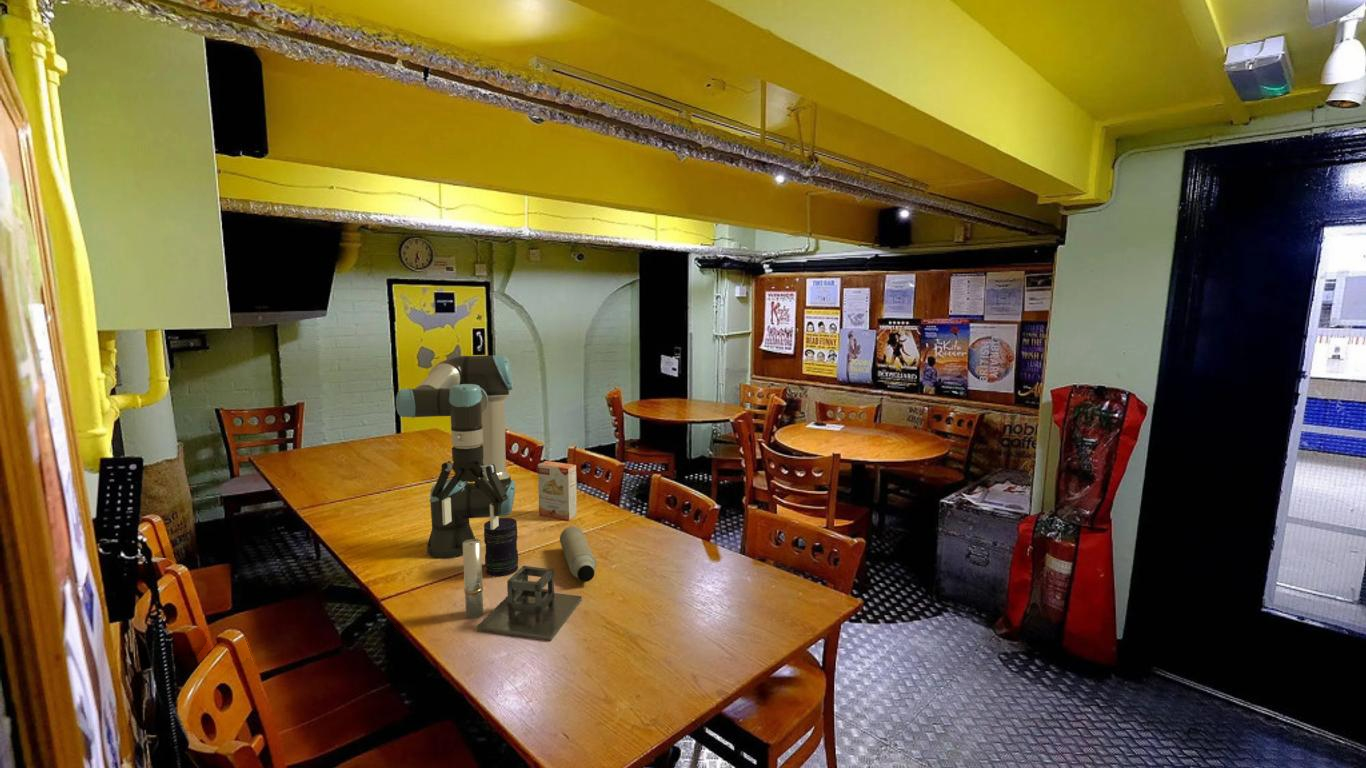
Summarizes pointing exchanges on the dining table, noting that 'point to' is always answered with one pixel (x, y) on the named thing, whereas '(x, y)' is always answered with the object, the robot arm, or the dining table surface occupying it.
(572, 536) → the thermos bottle
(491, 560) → the storage jar
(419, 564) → the dining table surface
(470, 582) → the steel tube
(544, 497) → the cracker box
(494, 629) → the collar stand
